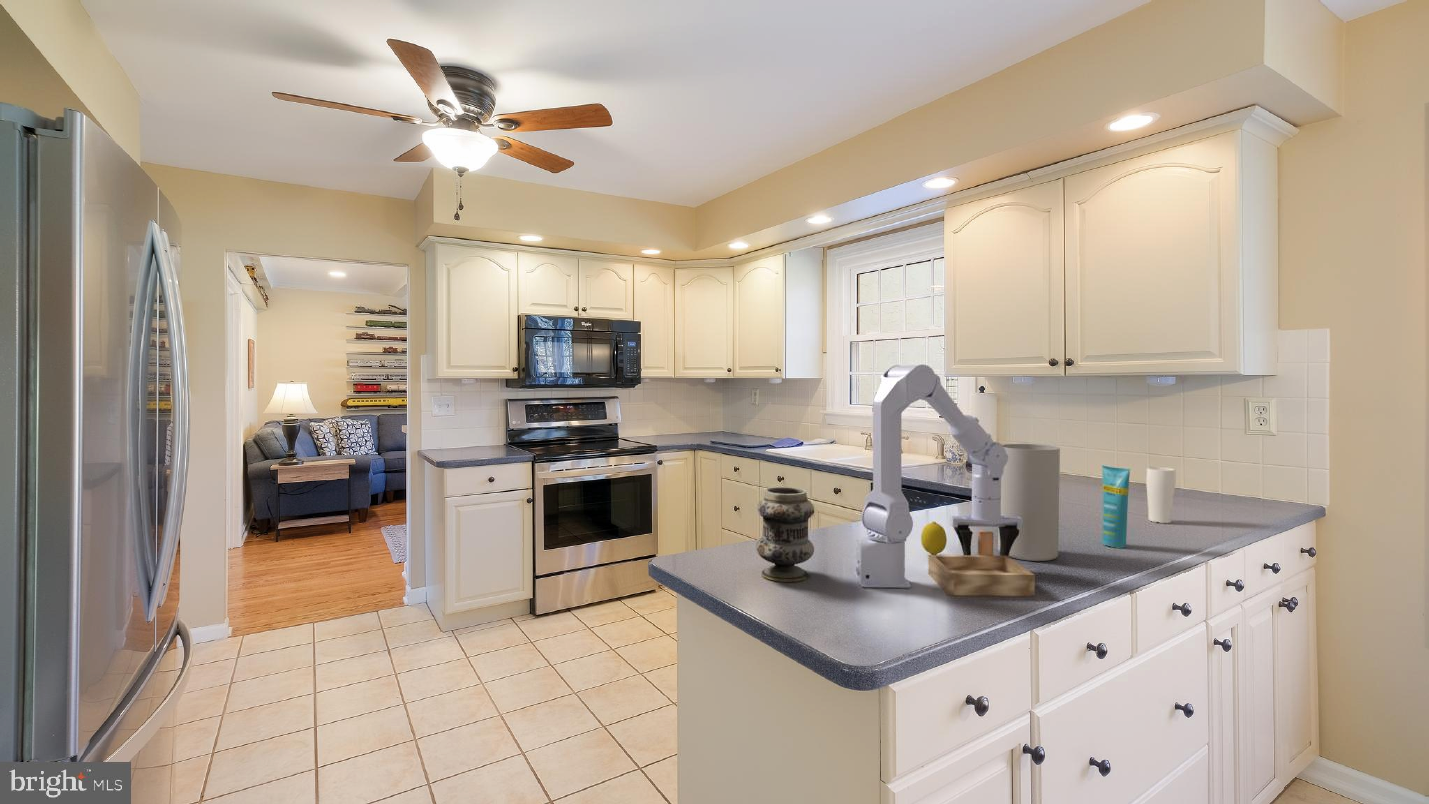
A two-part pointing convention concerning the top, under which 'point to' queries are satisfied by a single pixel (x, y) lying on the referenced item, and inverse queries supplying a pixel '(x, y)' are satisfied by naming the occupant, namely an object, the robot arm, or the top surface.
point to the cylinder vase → (1032, 499)
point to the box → (981, 575)
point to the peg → (985, 543)
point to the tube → (1115, 505)
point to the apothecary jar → (785, 533)
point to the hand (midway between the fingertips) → (985, 560)
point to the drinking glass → (1160, 493)
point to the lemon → (933, 538)
